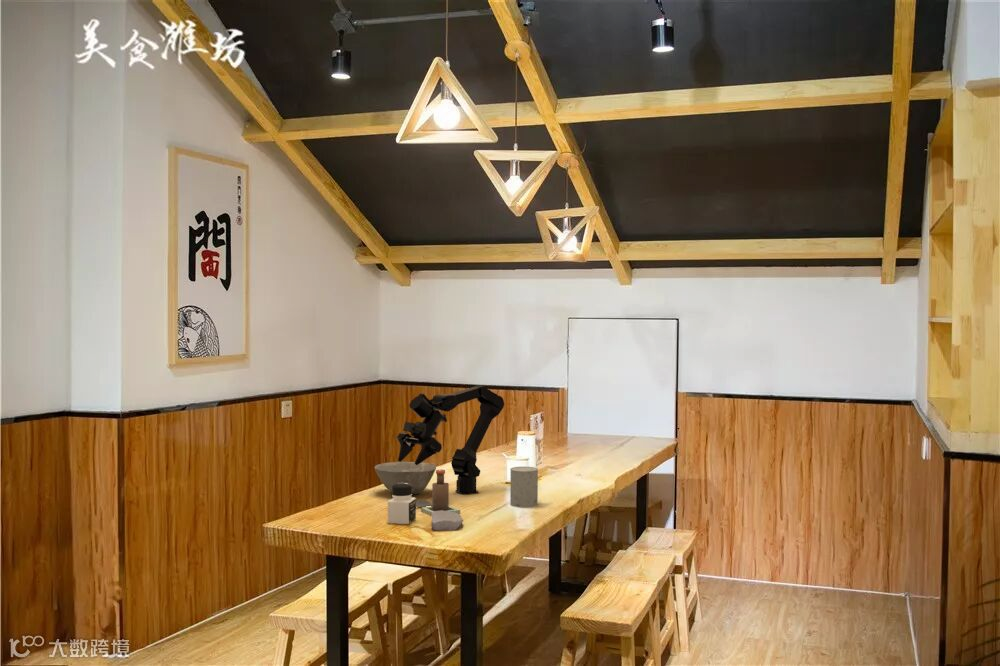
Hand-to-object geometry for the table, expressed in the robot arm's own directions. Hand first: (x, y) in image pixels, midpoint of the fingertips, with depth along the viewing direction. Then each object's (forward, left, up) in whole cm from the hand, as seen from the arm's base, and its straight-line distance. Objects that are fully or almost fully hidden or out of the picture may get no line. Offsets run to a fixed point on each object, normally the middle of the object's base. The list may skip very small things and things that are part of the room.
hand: (407, 462), depth 310 cm
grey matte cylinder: (-34, +22, -14) cm, 43 cm away
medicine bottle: (+13, +24, -14) cm, 31 cm away
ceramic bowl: (-7, -16, -14) cm, 23 cm away
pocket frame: (-4, +18, -14) cm, 23 cm away
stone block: (+3, +36, -15) cm, 39 cm away
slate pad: (-2, +4, -14) cm, 15 cm away
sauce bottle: (-4, +18, -14) cm, 23 cm away
